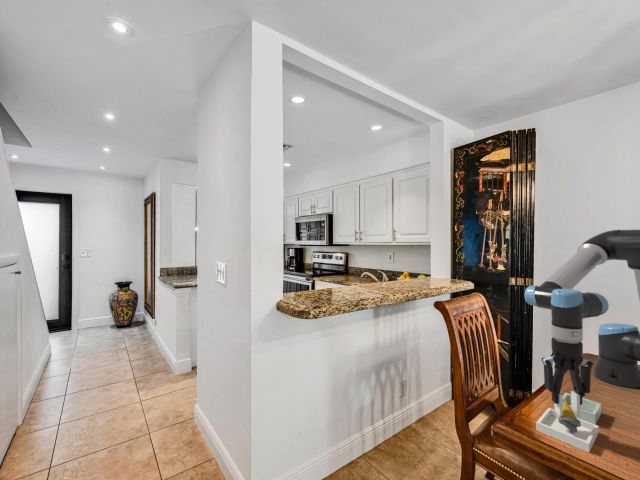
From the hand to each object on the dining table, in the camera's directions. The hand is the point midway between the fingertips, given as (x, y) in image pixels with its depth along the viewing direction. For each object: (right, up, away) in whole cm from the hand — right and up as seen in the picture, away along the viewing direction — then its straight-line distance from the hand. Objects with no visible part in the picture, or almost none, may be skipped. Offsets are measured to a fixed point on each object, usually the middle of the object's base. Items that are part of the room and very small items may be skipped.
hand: (566, 413), depth 93 cm
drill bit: (0, -4, 0) cm, 4 cm away
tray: (0, -6, 0) cm, 6 cm away
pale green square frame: (+12, -5, +10) cm, 17 cm away
